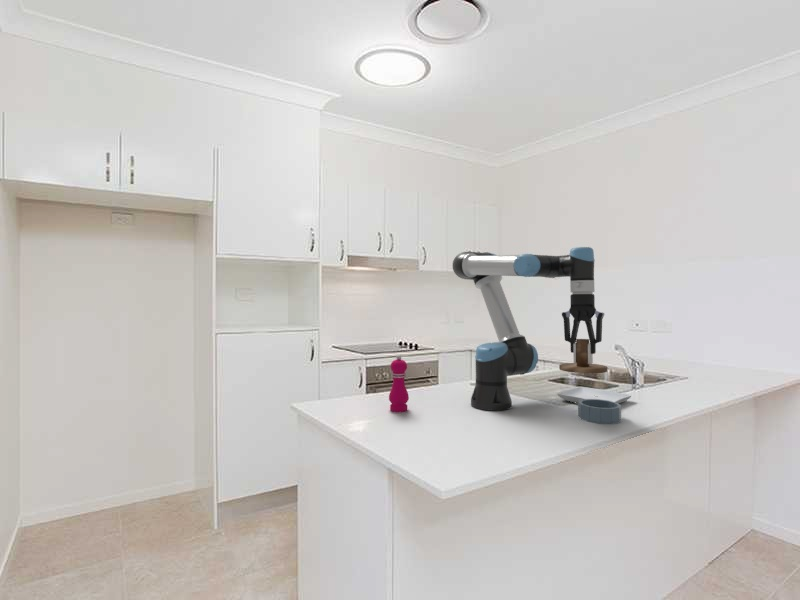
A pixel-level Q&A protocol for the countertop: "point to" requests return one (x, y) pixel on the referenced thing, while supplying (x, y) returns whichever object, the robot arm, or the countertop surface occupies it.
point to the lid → (582, 360)
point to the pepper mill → (398, 386)
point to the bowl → (599, 411)
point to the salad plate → (592, 395)
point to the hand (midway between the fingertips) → (583, 362)
